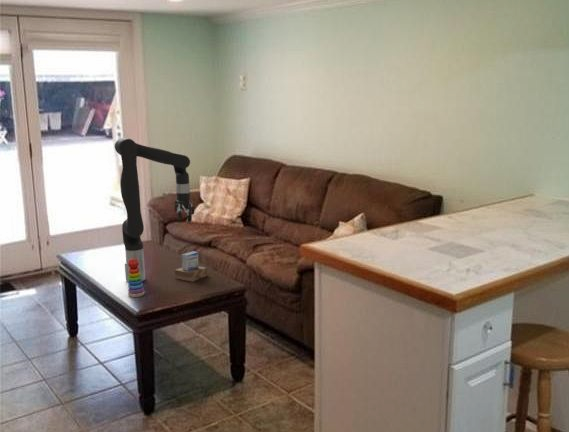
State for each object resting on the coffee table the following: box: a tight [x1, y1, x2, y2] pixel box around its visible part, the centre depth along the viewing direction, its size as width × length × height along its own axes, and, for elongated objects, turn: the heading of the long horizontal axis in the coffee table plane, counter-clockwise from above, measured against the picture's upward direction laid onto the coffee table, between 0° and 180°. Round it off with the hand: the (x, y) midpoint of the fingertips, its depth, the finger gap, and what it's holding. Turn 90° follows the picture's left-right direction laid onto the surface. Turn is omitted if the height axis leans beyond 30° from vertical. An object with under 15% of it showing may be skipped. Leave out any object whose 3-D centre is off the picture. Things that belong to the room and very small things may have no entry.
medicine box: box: [181, 250, 199, 271], centre depth 323 cm, size 8×4×9 cm, turn 140°
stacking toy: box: [127, 258, 145, 298], centre depth 296 cm, size 8×8×19 cm
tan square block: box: [174, 265, 208, 283], centre depth 325 cm, size 12×12×5 cm
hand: (184, 220), depth 331 cm, fingers open, 8 cm apart
